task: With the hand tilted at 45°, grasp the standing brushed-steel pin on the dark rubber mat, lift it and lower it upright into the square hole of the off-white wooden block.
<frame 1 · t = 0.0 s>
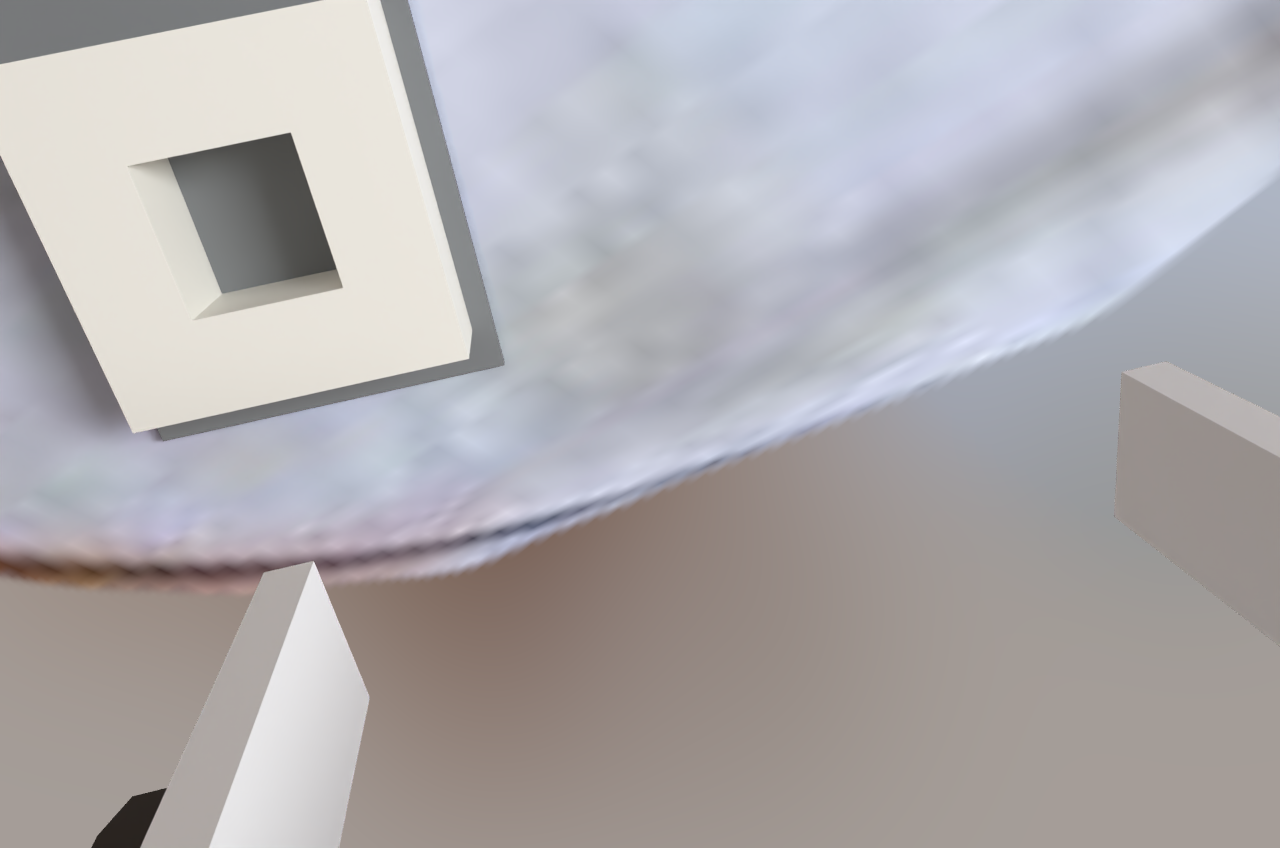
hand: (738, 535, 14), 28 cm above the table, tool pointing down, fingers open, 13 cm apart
mat: (214, 59, 35), on the table
hole block: (265, 210, 37), resting on mat
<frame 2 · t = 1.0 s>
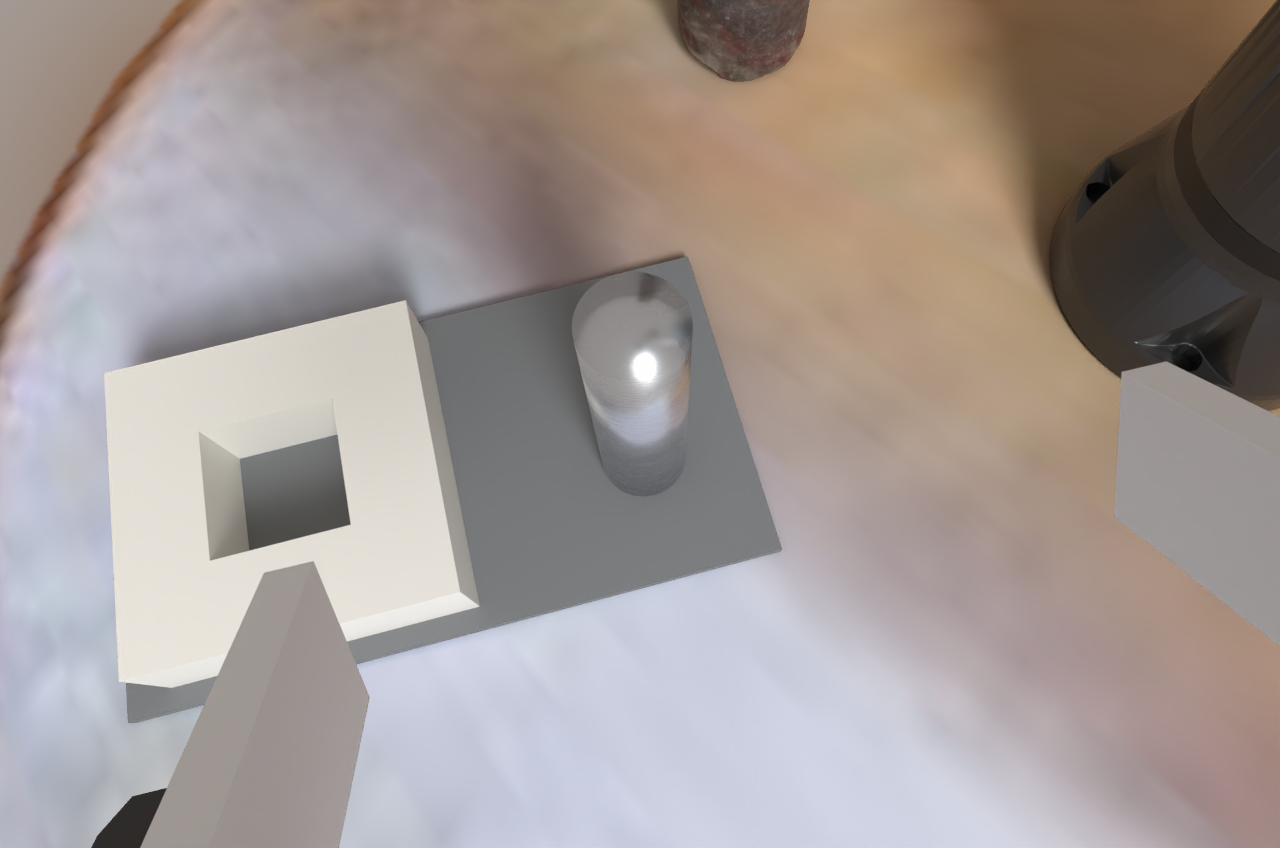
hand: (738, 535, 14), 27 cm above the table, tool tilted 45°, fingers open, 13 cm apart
pin: (643, 456, 42), point 1 cm above the table, touching mat
mat: (434, 472, 43), on the table
candle: (738, 35, 52), on the table
hole block: (308, 501, 42), resting on mat
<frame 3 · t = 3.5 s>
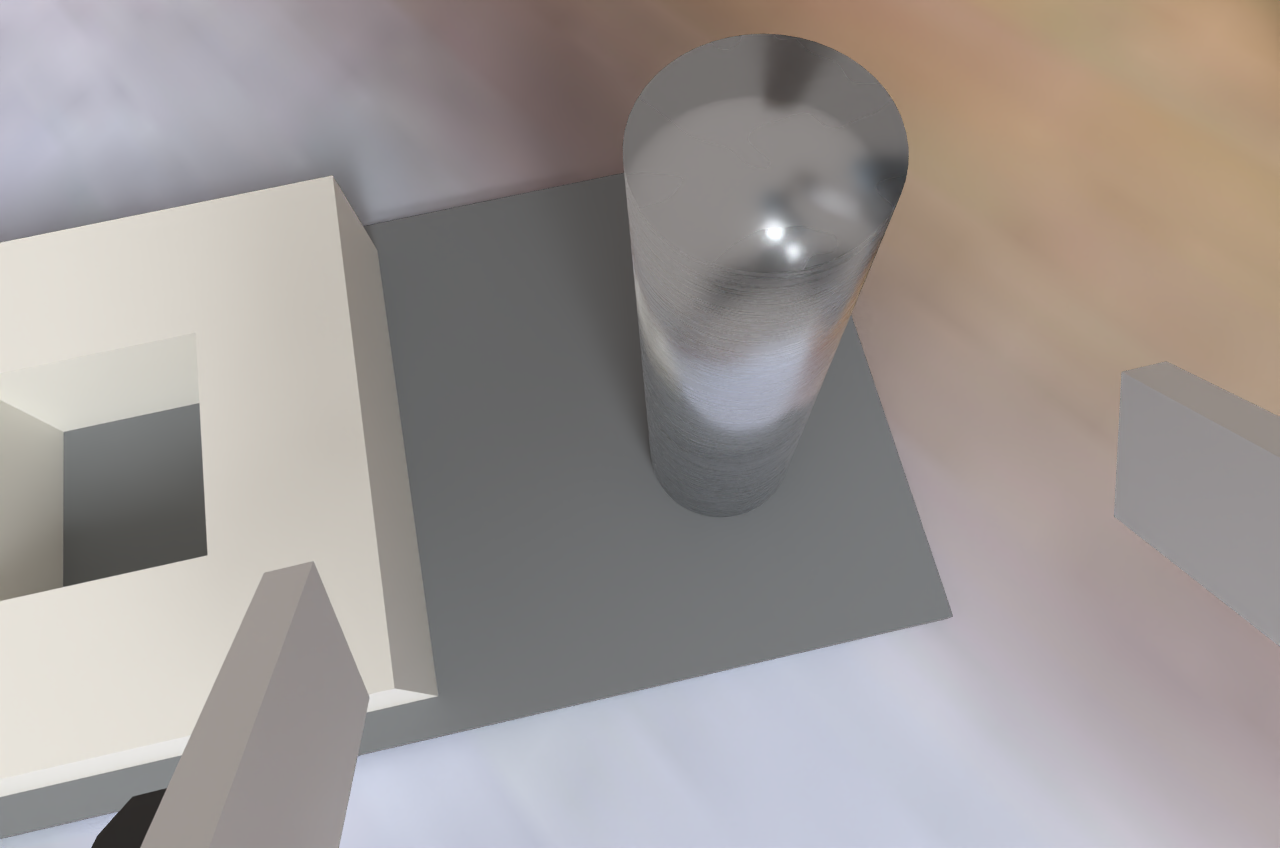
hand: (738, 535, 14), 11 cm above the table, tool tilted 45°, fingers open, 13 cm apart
pin: (719, 450, 26), point 1 cm above the table, touching mat
mat: (376, 465, 26), on the table
hole block: (167, 504, 26), resting on mat
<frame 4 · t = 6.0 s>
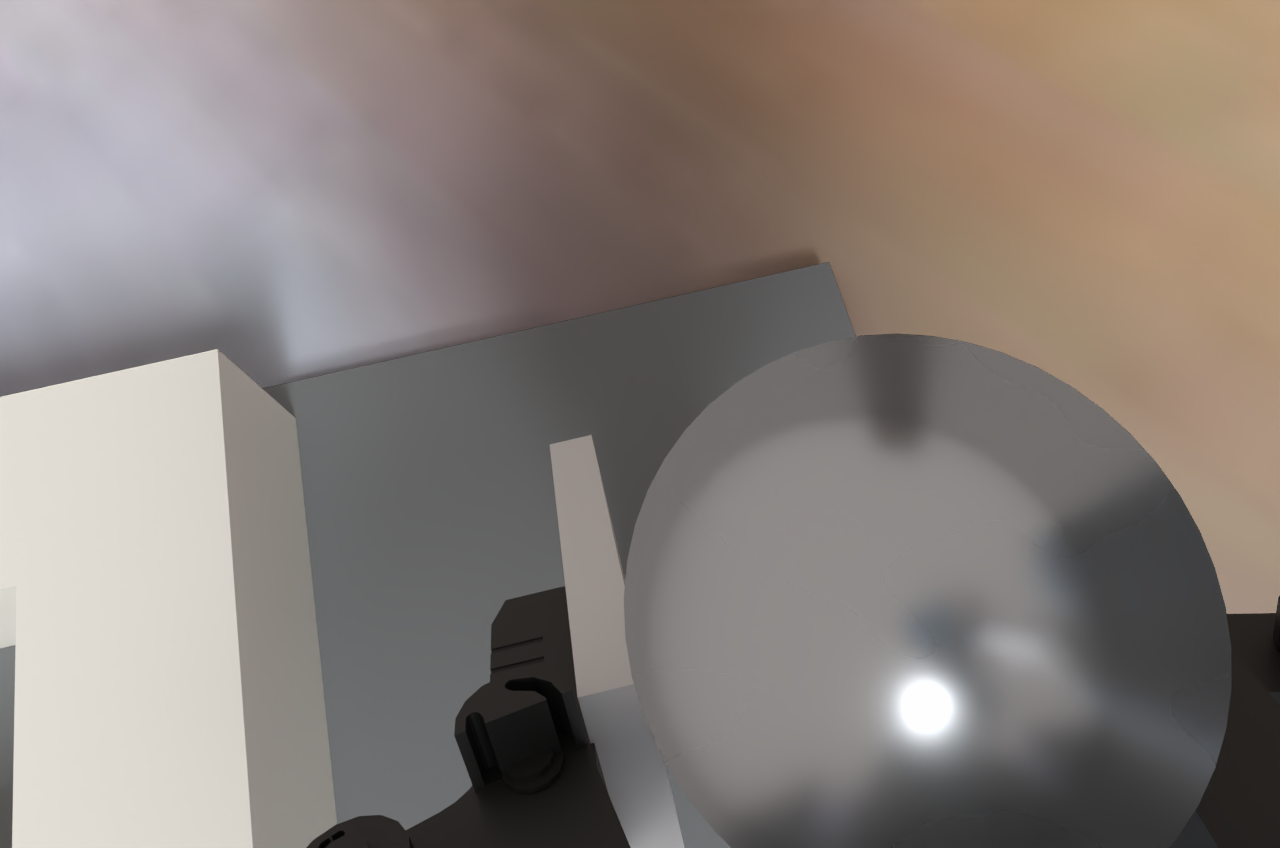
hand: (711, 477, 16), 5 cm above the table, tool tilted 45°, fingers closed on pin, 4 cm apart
pin: (746, 702, 19), point 1 cm above the table, touching gripper, mat
mat: (289, 719, 20), on the table
hole block: (2, 786, 19), resting on mat
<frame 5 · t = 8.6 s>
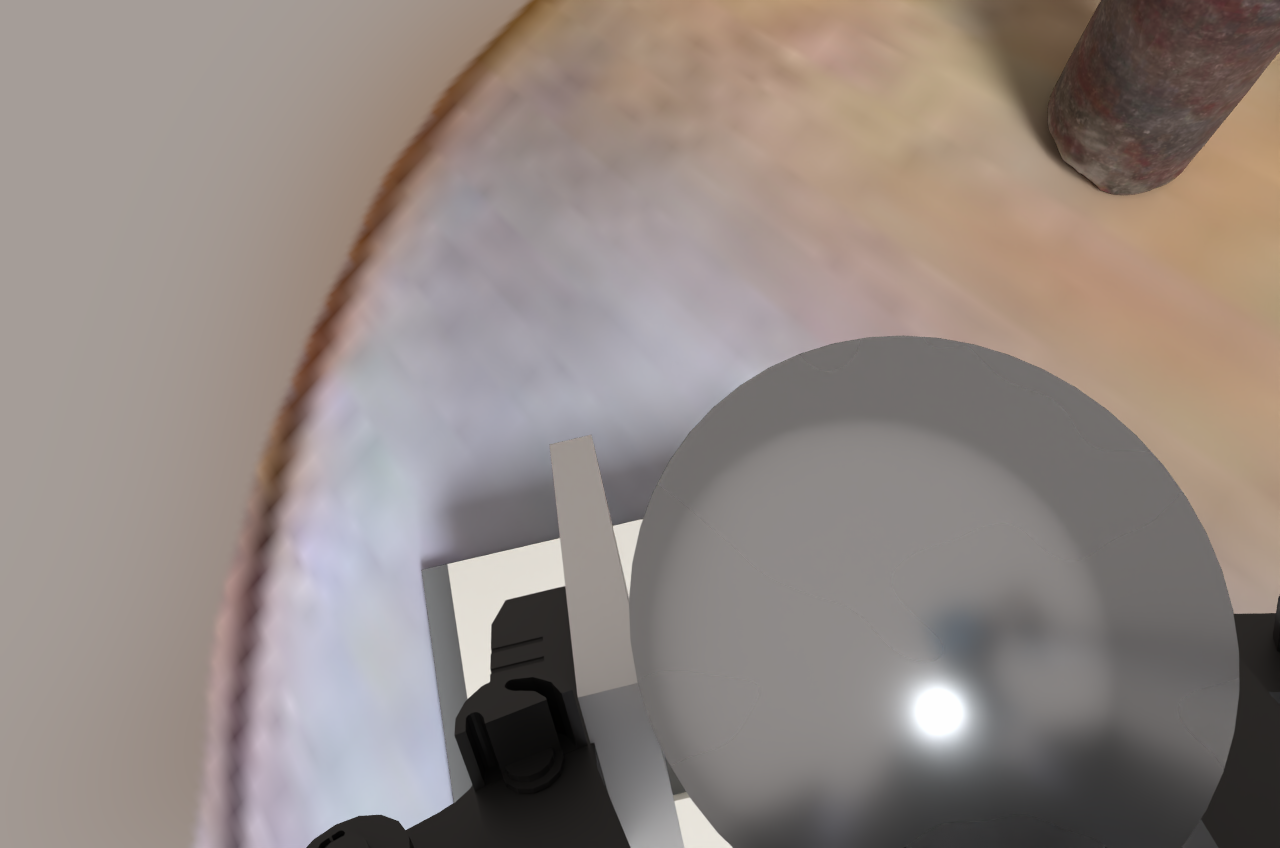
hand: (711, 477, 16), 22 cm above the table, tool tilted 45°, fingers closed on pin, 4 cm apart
pin: (748, 703, 19), point 18 cm above the table, touching gripper
mat: (812, 678, 36), on the table
candle: (1108, 136, 44), on the table
hole block: (669, 712, 35), resting on mat
when the fingers open (7 cm above the table, at t = 11.2 s): pin drops 1 cm, resting on mat.
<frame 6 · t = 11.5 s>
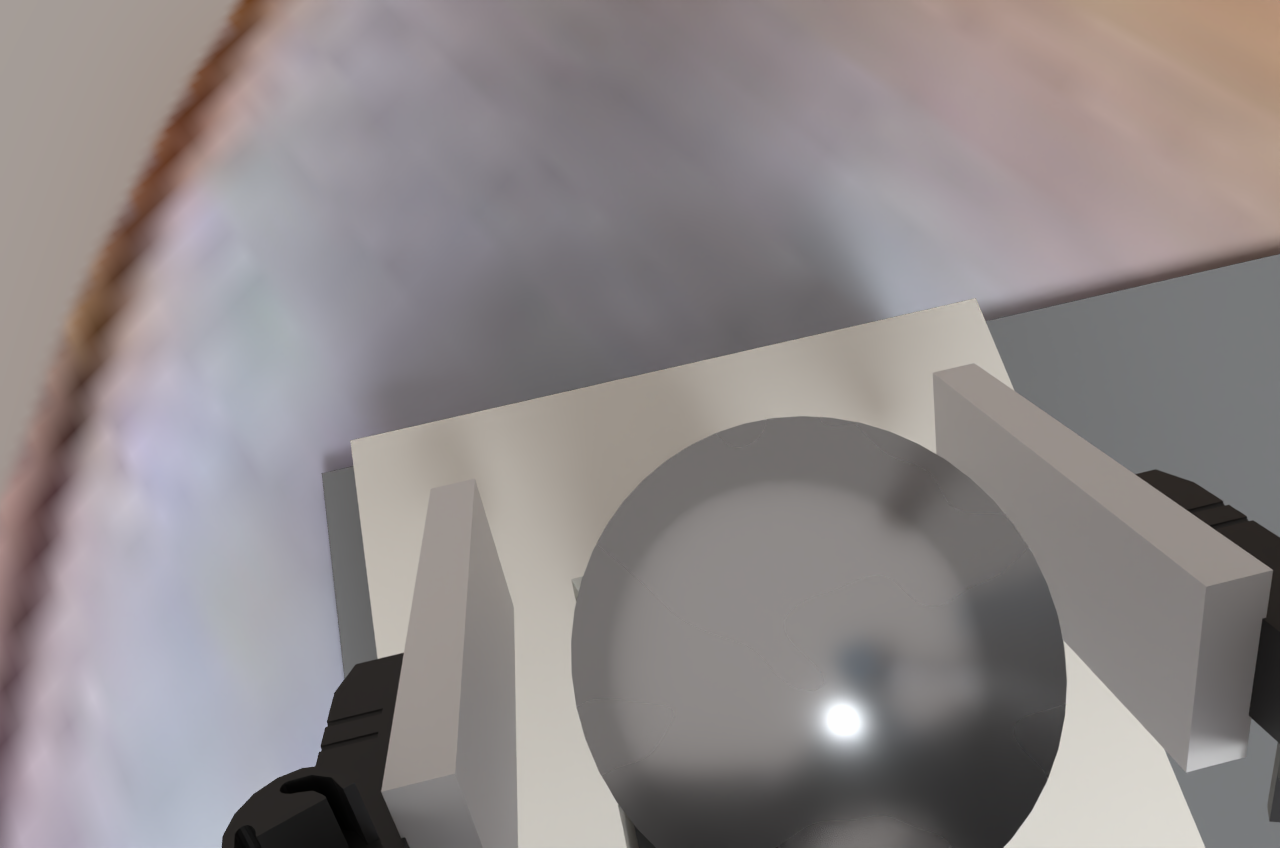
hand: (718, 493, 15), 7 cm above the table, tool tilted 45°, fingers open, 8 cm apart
pin: (745, 707, 20), point 1 cm above the table, touching mat
mat: (979, 646, 21), on the table
hole block: (740, 705, 20), resting on mat
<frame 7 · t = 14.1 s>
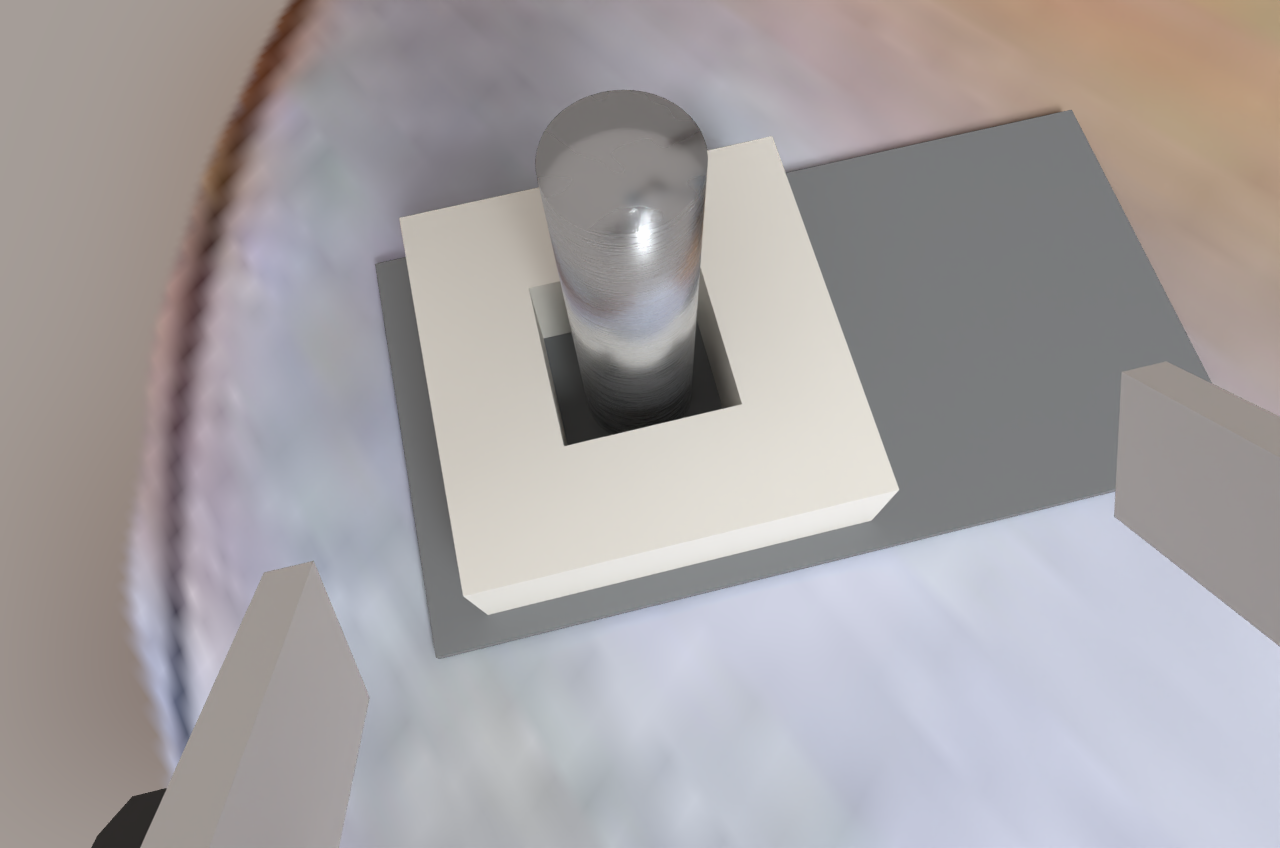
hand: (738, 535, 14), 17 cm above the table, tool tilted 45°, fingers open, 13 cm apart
pin: (638, 391, 33), point 1 cm above the table, touching mat
mat: (785, 359, 34), on the table
hole block: (636, 389, 33), resting on mat
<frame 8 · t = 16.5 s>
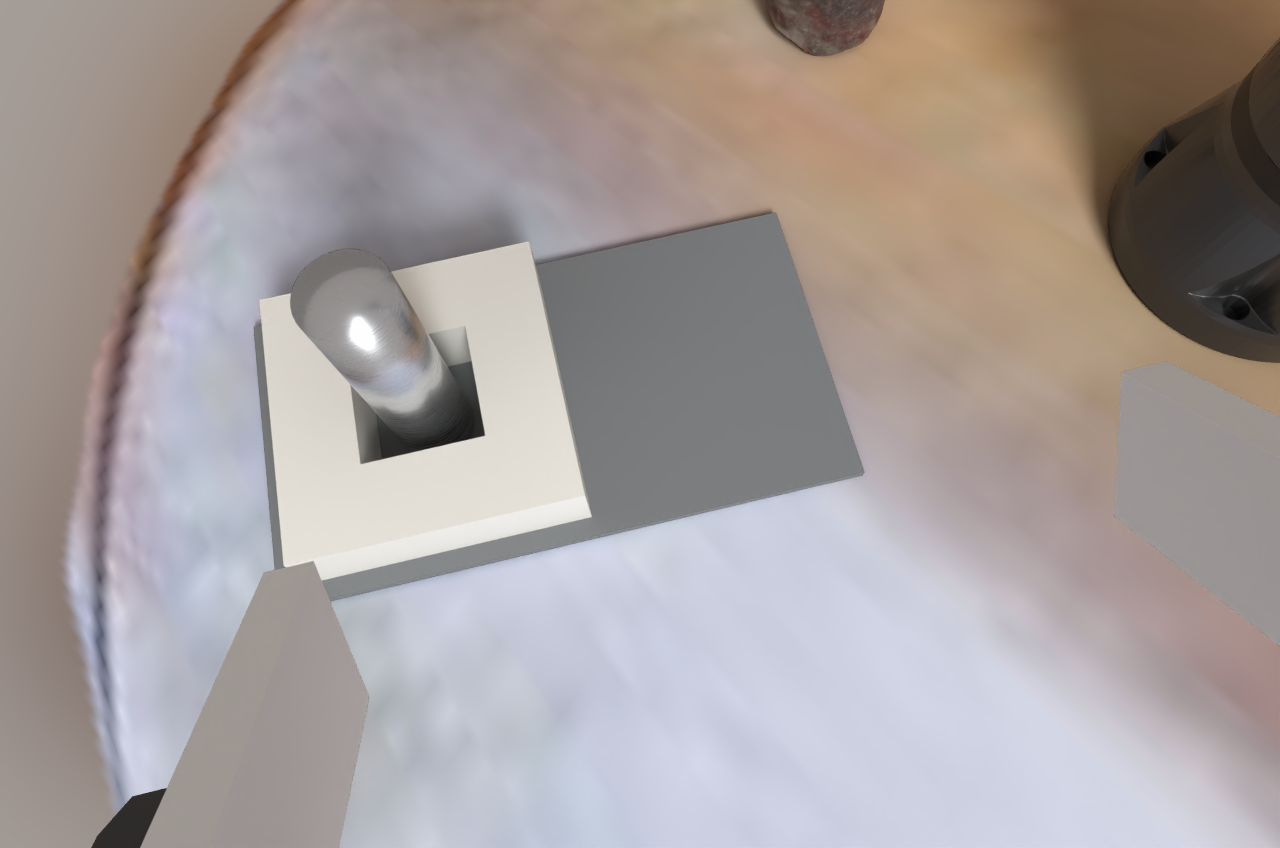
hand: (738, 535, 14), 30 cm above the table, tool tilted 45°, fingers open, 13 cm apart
pin: (436, 422, 46), point 1 cm above the table, touching mat
mat: (547, 400, 47), on the table
candle: (818, 14, 56), on the table
hole block: (434, 421, 46), resting on mat
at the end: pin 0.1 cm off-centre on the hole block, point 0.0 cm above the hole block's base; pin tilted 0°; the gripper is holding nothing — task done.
